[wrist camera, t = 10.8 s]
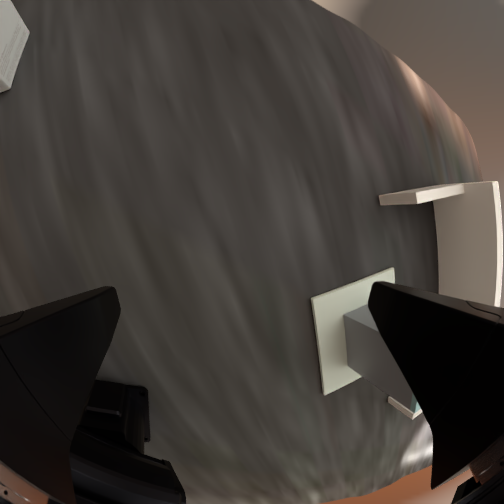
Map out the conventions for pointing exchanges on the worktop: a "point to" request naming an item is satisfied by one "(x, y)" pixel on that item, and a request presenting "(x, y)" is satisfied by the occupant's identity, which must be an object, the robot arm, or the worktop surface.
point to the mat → (340, 328)
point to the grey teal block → (375, 357)
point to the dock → (462, 242)
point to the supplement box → (10, 42)
